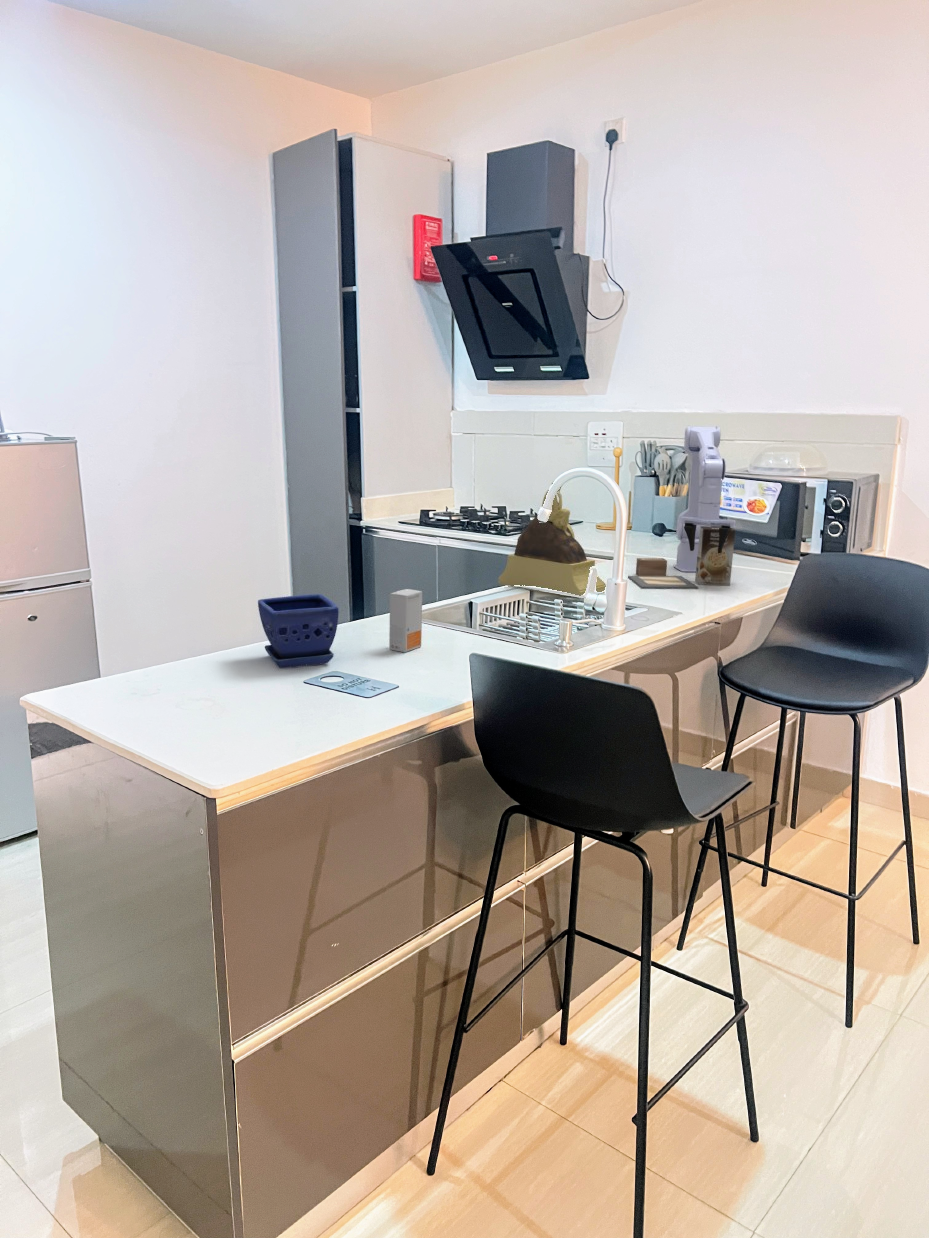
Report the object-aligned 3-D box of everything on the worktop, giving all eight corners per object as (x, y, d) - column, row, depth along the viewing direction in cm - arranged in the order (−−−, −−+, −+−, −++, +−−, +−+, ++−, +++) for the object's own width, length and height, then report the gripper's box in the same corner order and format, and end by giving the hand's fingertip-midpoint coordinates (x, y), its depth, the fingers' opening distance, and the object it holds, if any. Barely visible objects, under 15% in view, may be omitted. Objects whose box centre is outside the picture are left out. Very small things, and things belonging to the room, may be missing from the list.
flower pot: (272, 673, 171) (270, 611, 168) (258, 655, 183) (256, 597, 180) (341, 666, 176) (340, 606, 173) (323, 649, 188) (322, 592, 185)
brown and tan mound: (607, 592, 249) (613, 481, 242) (580, 599, 240) (585, 484, 233) (526, 578, 267) (529, 475, 260) (498, 584, 258) (501, 477, 251)
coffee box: (698, 584, 261) (702, 528, 258) (694, 580, 268) (699, 525, 264) (730, 585, 261) (735, 529, 257) (726, 581, 267) (731, 526, 263)
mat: (627, 577, 270) (628, 575, 270) (680, 577, 271) (681, 575, 271) (641, 588, 254) (641, 586, 254) (698, 588, 256) (698, 586, 255)
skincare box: (405, 653, 186) (405, 595, 183) (388, 649, 188) (388, 593, 185) (422, 646, 191) (423, 590, 188) (406, 643, 193) (406, 588, 190)
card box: (635, 574, 276) (636, 557, 275) (661, 574, 277) (662, 557, 276) (639, 577, 272) (640, 560, 271) (665, 577, 272) (667, 560, 271)
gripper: (679, 502, 251) (676, 551, 255) (733, 506, 245) (729, 556, 248) (686, 500, 258) (682, 547, 261) (738, 503, 251) (734, 552, 254)
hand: (705, 551), depth 255 cm, fingers open, 7 cm apart
